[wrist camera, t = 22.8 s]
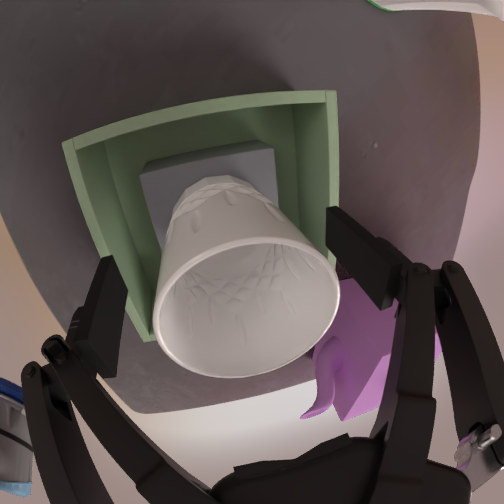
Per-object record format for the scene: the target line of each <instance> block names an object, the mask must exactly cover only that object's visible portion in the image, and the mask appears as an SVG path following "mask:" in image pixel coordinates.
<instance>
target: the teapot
mask: <svg viewBox="0 0 504 504" xmlns="http://www.w3.org/2000/svg"><path fill="white" fill-rule="evenodd" d="M339 284H340V302H339V307H338V310H337V313H336V316H335V318H334V320H333V322H332V324H331V325H330V327H329V329H328V330H327V331H326V333H325V334H324V335H323V337H322V338H321V339H320V340H319V341H318V342H317V343H316V346H315V349H314V353H313V357H312V361H313V363H314V365H315V371H316V380H317V397H316V401H315V402H314V404H313V406H312V407H311V408H310V409H309V410H308V411H307V412H306V413H304V414H303V415H302V416H301V417H300V418H301V419H306V418H310V417H313V416H316V415H318V414H321V413H323V412H324V411H326V410H327V409H328V408H329V407H330V406H331V405H332V403H333V405H334V407H335V409H336V411H337V414H338V416H339V418H340V420H341V421H345V420H348V419H350V418H353V417H356V416H358V415H361V414H363V413H366V412H368V411H370V410H373V409H375V408H377V407H380V403H381V399H382V395H383V391H384V386H385V382H386V377H387V372H388V367H389V361H390V356H391V350H392V344H393V337H394V330H395V322H396V318H394V316H395V313H396V309H397V306H398V303H399V302H398V301H397V300H396V299H395V298H394V301H393V305H392V307H390V308H387V309H385V310H382V311H380V310H379V309H378V308H377V306H376V305H375V304H374V303H373V301H372V300H371V299H370V298H369V297H368V295H367V294H366V293H365V292H364V290H363V289H362V288H361V287H360V286H359V284H358V283H357V282H356V281H355V280H354V278H350V279H345V280H339ZM441 352H442V348H441V344H440V340H439V337H438V333H437V329H436V326H435V360H434V362H435V361H436V359H437V358H438V356H439V355H440V353H441Z"/></svg>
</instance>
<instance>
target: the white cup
mask: <svg viewBox="0 0 504 504" xmlns="http://www.w3.org/2000/svg"><path fill="white" fill-rule="evenodd" d="M339 302H340V284H339V280H338V276H337V274H336V272H335V270H334V268H333V266H332V265H331V263H330V262H329V261H328V260H327V259H326V257H325V256H324V255H323V254H322V253H321V252H320V251H319V250H318V249H317V248H316V247H315V246H314V245H313V244H312V243H311V241H310V240H309V239H308V238H307V237H306V236H305V235H304V234H303V233H302V232H301V231H300V230H299V229H298V228H297V227H296V226H295V225H294V224H293V222H292V221H291V220H290V219H289V218H288V217H287V216H286V215H285V214H284V213H283V212H282V211H281V210H280V209H279V208H278V207H277V206H275V205H274V204H273V203H272V202H271V201H270V200H269V199H268V198H267V197H265V196H264V195H262V194H261V193H259V192H258V191H257V190H256V189H255V188H254V187H253V186H252V184H251V183H249V182H247V181H244V180H241V179H239V178H236V177H233V176H231V175H222V176H212V177H205V178H203V179H202V180H200V181H198V182H196V183H195V184H193V185H192V186H190V187H188V188H187V189H185V191H184V192H183V194H182V195H181V197H180V198H179V200H178V201H177V203H176V205H175V206H174V208H173V213H172V219H171V221H170V224H169V227H168V230H167V234H166V239H165V243H164V247H163V251H162V256H161V262H160V268H159V275H158V281H157V288H156V295H155V302H154V309H153V329H154V333H155V336H156V339H157V341H158V343H159V345H160V347H161V348H162V349H163V351H164V352H165V353H166V354H167V355H168V356H169V357H170V358H171V359H172V360H173V361H175V362H176V363H177V364H179V365H180V366H182V367H184V368H186V369H188V370H190V371H193V372H195V373H198V374H202V375H206V376H211V377H219V378H240V377H248V376H254V375H259V374H263V373H266V372H269V371H272V370H275V369H277V368H280V367H282V366H284V365H286V364H288V363H290V362H292V361H294V360H295V359H297V358H299V357H300V356H301V355H303V354H304V353H306V352H307V351H308V350H309V349H311V348H312V347H313V346H314V345H315V344H316V343H317V342H318V341H319V340H320V339H321V338H322V337H323V335H324V334H325V333H326V331H327V330H328V329H329V327H330V325H331V324H332V322H333V320H334V318H335V316H336V313H337V310H338V307H339Z"/></svg>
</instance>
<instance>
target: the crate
mask: <svg viewBox="0 0 504 504" xmlns="http://www.w3.org/2000/svg"><path fill="white" fill-rule="evenodd" d="M251 140H260V141H262V142H264V143H266V144H268V145H269V146H271V147H273V148H274V156H275V167H276V178H277V190H278V202H279V209H280V210H281V211H282V212H283V213H284V214H285V215H286V216H287V217H288V218H289V219H290V220H291V221H292V222H293V224H294V225H295V226H296V227H297V228H298V229H299V230H300V231H301V232H302V233H303V234H304V235H305V236H306V237H307V238H308V239H309V240H310V241H311V243H312V244H313V245H314V246H315V247H316V248H317V249H318V250H319V251H320V252H321V253H322V254H323V255H324V256H325V257H326V259H327V260H328V261H329V262H330V263H331V265H332V266H333V268H334V270H335V268H336V257H335V256H334V255H333V254H332V253H331V252H330V250H329V249H328V248H327V247H326V246H325V232H326V207H331V206H338V207H339V135H338V112H337V96H336V91H335V90H294V91H276V92H264V93H253V94H244V95H236V96H229V97H222V98H215V99H209V100H204V101H198V102H193V103H188V104H183V105H178V106H174V107H169V108H165V109H161V110H157V111H153V112H149V113H145V114H141V115H138V116H134V117H131V118H128V119H124V120H121V121H118V122H115V123H112V124H109V125H106V126H103V127H100V128H97V129H94V130H92V131H89V132H86V133H84V134H81V135H79V136H76V137H74V138H71V139H69V140H66V141H64V142H62V146H63V150H64V154H65V158H66V162H67V165H68V169H69V172H70V176H71V179H72V182H73V185H74V188H75V192H76V195H77V198H78V201H79V204H80V206H81V209H82V212H83V215H84V218H85V220H86V223H87V225H88V228H89V231H90V233H91V236H92V238H93V241H94V243H95V246H96V248H97V250H98V253H99V255H100V257H101V258H102V257H105V256H109V255H113V257H114V259H115V261H116V264H117V266H118V268H119V271H120V273H121V275H122V278H123V280H124V282H125V284H126V286H127V288H128V296H127V301H126V307H125V309H126V311H127V313H128V315H129V317H130V319H131V320H132V322H133V324H134V326H135V328H136V329H137V331H138V333H139V335H140V336H141V338H142V340H143V341H144V342H149V341H152V340H153V341H154V340H157V339H156V336H155V333H154V329H153V309H154V302H155V295H156V288H157V281H158V275H159V268H160V262H161V256H162V252H161V249H160V246H159V243H158V240H157V237H156V233H155V230H154V227H153V224H152V220H151V217H150V214H149V210H148V207H147V203H146V200H145V196H144V192H143V189H142V185H141V181H140V177H139V174H140V173H141V171H142V169H143V168H144V166H145V164H146V163H147V162H148V161H152V160H156V159H160V158H164V157H168V156H172V155H177V154H181V153H186V152H190V151H195V150H200V149H205V148H210V147H215V146H220V145H226V144H232V143H238V142H244V141H251Z"/></svg>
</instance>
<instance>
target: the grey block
mask: <svg viewBox="0 0 504 504" xmlns="http://www.w3.org/2000/svg"><path fill="white" fill-rule="evenodd" d="M222 175H231V176H233V177H236V178H239V179H241V180H244V181H247V182H249V183H251V184H252V186H253V187H254V188H255V189H256V190H257V191H258V192H259V193H261V194H262V195H264V196H265V197H267V198H268V199H269V200H270V201H271V202H272V203H273V204H274V205H275V206H277V207H278V208H279V202H278V190H277V178H276V167H275V156H274V148H273V147H271V146H269V145H268V144H266V143H264V142H262V141H260V140H251V141H244V142H238V143H232V144H226V145H220V146H215V147H210V148H205V149H200V150H195V151H190V152H186V153H181V154H177V155H172V156H168V157H164V158H160V159H156V160H152V161H148V162H147V163H146V164H145V166H144V168H143V169H142V171H141V173H140V174H139V177H140V181H141V185H142V189H143V192H144V196H145V200H146V203H147V207H148V210H149V214H150V217H151V220H152V224H153V227H154V230H155V233H156V237H157V240H158V243H159V246H160V249H161V252H162V251H163V247H164V243H165V239H166V234H167V230H168V227H169V224H170V221H171V219H172V213H173V208H174V206H175V205H176V203H177V201H178V200H179V198H180V197H181V195H182V194H183V192H184V191H185V189H187V188H188V187H190V186H192V185H193V184H195V183H196V182H198V181H200V180H202V179H203V178H205V177H212V176H222Z"/></svg>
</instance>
